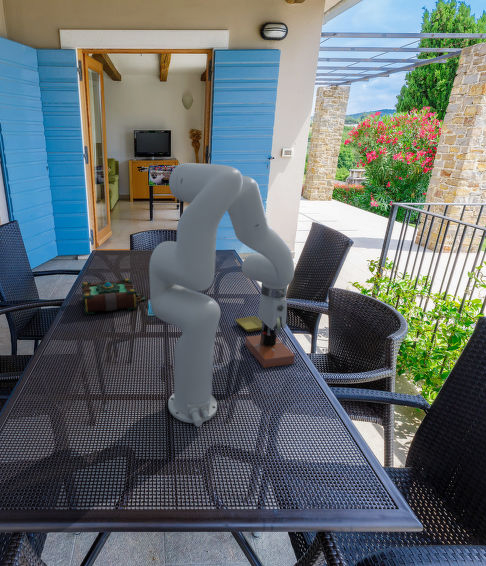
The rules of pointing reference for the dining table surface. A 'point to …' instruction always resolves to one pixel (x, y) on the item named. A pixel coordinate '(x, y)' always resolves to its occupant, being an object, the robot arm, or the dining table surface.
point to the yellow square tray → (250, 323)
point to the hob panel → (269, 352)
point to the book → (109, 296)
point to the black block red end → (263, 337)
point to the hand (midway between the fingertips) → (267, 342)
